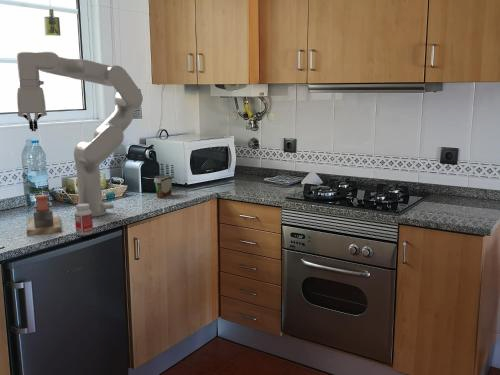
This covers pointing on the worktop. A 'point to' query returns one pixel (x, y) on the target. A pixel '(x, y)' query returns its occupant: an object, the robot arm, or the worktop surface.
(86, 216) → the pill bottle
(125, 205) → the worktop surface
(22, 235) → the worktop surface
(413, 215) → the worktop surface
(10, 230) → the worktop surface
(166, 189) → the food container
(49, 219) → the board
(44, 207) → the red plug
